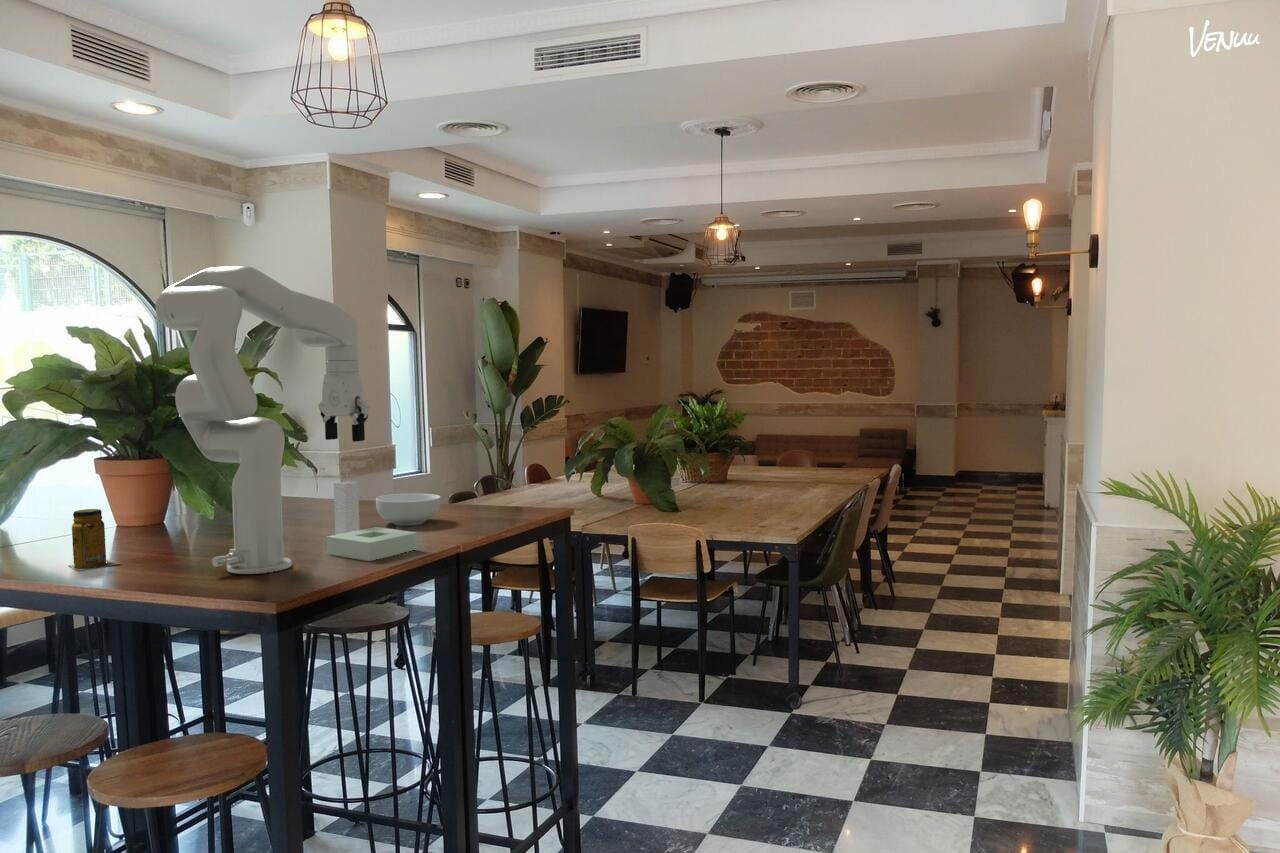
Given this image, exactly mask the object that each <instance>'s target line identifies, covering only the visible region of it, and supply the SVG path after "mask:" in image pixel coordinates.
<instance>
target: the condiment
mask: <svg viewBox="0 0 1280 853" xmlns="http://www.w3.org/2000/svg"><path fill="white" fill-rule="evenodd" d="M72 517H73V523H72V524H71V534H72V554H73V555H72V556H73V564H69V565H68V566H69V567H70V568H71V569H73V570H75V571H83V570H84V571H85V570H92V569H98V568H102V567H109V566H110V567H111V566H114V565H120V564H122V563H120V562H118V561H116V560H114V559H107V554H106V553H107V550H106V531H105V530H106V529H105V527H106V526H105V522H104V521H103V520H102V519H103V515H102V510H101V509H98V508H87V509H80V510H79V509H78V510H75V511H74V512H73V514H72ZM106 562H107V563H106Z"/></svg>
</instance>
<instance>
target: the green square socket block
mask: <svg viewBox="0 0 1280 853" xmlns="http://www.w3.org/2000/svg"><path fill="white" fill-rule="evenodd" d="M418 540H419V538H418V532H415V531H409V530H408V531H407V530H401V529H394V528H386V527H380V526H379V527H377V526H375V527H369V528H364V529H360V530H357V531H352V532H347V533H342V534H337V535H335V534H332V535H327V536H326V555H329V556H336V557H340V558H341V557H342V558H348V559H354V560H358V561H359V560H360V561H366V562H370V561H371V562H372V561H376V559H377V560H380V559H384V558H389V557H393V555H394V556H397V554H398V555H401V554H400V553H403V552H407V551H411V550H415V549H418V550H419V546H418V544H419V543H418ZM411 552H412V551H411ZM407 553H408V552H407ZM403 554H404V553H403Z"/></svg>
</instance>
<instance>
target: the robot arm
mask: <svg viewBox="0 0 1280 853" xmlns="http://www.w3.org/2000/svg"><path fill="white" fill-rule="evenodd" d="M243 310H244V311H245V312H248V313H249V314H252V315H253V316H255V317H257V318H259V319H261V320H262V321H263V322H267V323H268V324H270V325H272V326H274V327H279V328H283V329H290V330H293V335H294V338H295V339H296V341H297V342H298V343H299V344H302V345H303V346H305V347H310V348H324V354H325V355H324V356H325V374H324V376H323V381H322V388H321V389H322V391H321V392H322V393H321V402H320V403H319V404H318V405H317V406H318V409H319V412H320V416H321V417H322V419H323V420H322V422H323V423H324V435H325V437H324V438H325V441H329V440H331V441H332V440H338V437H339V436H338V435H339V433H338V430H339V429H338V422H336V421H337V419H338V417H349V418H350V419H351V421H352V423H353V424H351V439H352V442H354V443H355V442H356V443H357V442H364V441H365V440H366V439H365V436H366V435H365V424H367V419H368V418H369V413H370V410H371V405H369V404H368V403H367V402H366V401H364V393H363V385H362V383H363V382H362V379H361V375H360V364H359V363H360V362H359V359H360V358H359V356H360V354H359V327H358V320H357V319H356V317H354V316H353V315H351V313H349V312H348V311H347V310H345V309H343V308H342V307H341V306H339V305H337V304H335V303H332V302H330V301H327V300H325V299H321V298H317V297H315V296H311V295H309V294H305V293H302V292H298V291H294V290H292V289H290V288H288V287H287V286H285V285H283V284H282V283H280V282H278V281H277V280H275V279H273V277H272V278H271V277H270V276H269V275H266V274H265V273H263V272H262V271H261V270H259V269H257V268H254V267H253V266H252V267H251V266H247V265H235V266H234V265H231V266H214V267H213V266H212V267H208V268H205V269H203V270H200V271H199V272H198V271H197V273H194V274H192V275H190V276H188V277H186V278H184V279H182V280H180V281H179V282H175V283H173V284H172V285H170V286H168V287H167V288H164V290H163V291H162V292H161V293H159V295H158V298H157V300H156V304H155V313H156V317H157V318H158V320H159V321H160V323H161V324H162V326H163V325H164V327H166V328H168V329H170V330H173V331H179V332H180V331H196V335H195V337H194V340H193V342H192V344H191V348H190V349H189V350H190V351H189V364H190V367H191V369H192V371H193V374H191V375H187V376H186V377H184V378H183V379H182V380H180V382H179V383H178V385H177V387H176V390H175V396H174V397H175V398H174V400H175V401H174V402H175V406H176V410H177V413H178V415H179V417H180V419H181V421H182V422H183V424H184V426H185V427H186V429H187V431H188V433H189V434H190V436H191V438H192V439H193V442H194V444H196V447H197V448H198V450H199V451H200V452H201V454H202V455H203V456H204V457H205V458H206V459H208V460H210V461H213V462H219V463H234V464H235V463H238V464H239V466H238V468H237V470H236V473H235V474H234V476H233V479H232V484H231V499H232V502H231V503H232V523H233V524H232V526H233V548H229V552H228V553H227V554H226V555H220V556H219V555H218V556H215V557H214V556H213V558H212V560H211V564H212V566H214V567H221V566H224V565H226V570H227V572H229V573H230V574H237V575H258V574H269V573H275V572H279V571H283V570H286V569H289V568H290V567H292V563H293V561H292V559H291V558H289V557H284V532H283V530H284V529H283V528H284V527H283V506H282V504H283V503H282V502H283V501H282V477H281V476H282V462H283V457H284V449H285V442H286V440H285V438H286V437H285V432H284V430H283V429H282V426H281V425H280V424H279V423H278V422H276V421H275V420H273V419H271V418H268V417H262V416H253V415H254V414H255V413H256V411H257V409H258V398H257V394H256V392H255V390H254V387H253V385H252V383H251V382H250V380H249V378H248V376H247V374H246V372H245V370H244V368H243V366H242V364H241V362H240V360H239V357H238V355H237V353H236V352H237V351H236V348H235V347H236V346H235V340H236V335H237V331H238V328H239V325H240V323H241V322H240V321H241V319H242V314H243ZM274 571H275V572H274ZM268 572H269V573H268Z"/></svg>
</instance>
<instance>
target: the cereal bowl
mask: <svg viewBox="0 0 1280 853" xmlns="http://www.w3.org/2000/svg"><path fill="white" fill-rule="evenodd" d="M441 500H442V498H441V495H438V494H433V493H415V492H413V493H411V492H409V493H408V492H407V493H391V494H385V495H380V496H376V498H375V508H376V511H377V513H378V514H379V516H380V517H381V518H383V519H384V520H386V521H388V522H391V523H392V525H396V526H417V525H422V524H424V523H425V522H426V521H428V520H430V519H433V518H434V517H436V515H437V514H438V513H439V511H440V508H441V502H442V501H441Z"/></svg>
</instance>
